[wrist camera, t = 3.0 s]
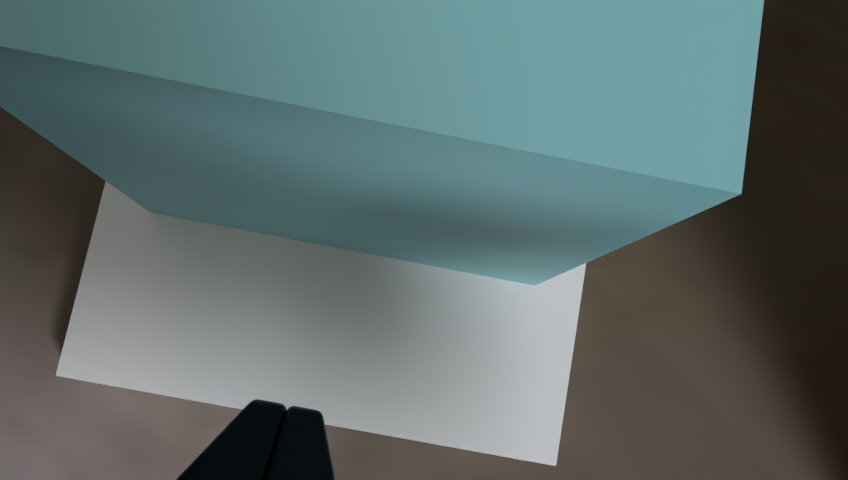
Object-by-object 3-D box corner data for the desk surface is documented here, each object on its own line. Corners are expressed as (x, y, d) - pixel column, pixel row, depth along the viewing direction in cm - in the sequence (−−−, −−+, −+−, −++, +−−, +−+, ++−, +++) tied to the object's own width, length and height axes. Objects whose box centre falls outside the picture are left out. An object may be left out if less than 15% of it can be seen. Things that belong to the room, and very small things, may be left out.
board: (547, 461, 16) (556, 465, 16) (70, 375, 16) (55, 375, 15) (652, -241, 19) (664, -266, 19) (250, -332, 19) (245, -362, 18)
